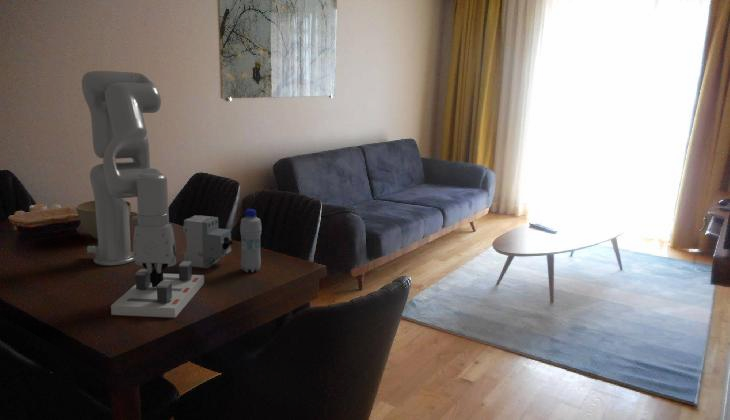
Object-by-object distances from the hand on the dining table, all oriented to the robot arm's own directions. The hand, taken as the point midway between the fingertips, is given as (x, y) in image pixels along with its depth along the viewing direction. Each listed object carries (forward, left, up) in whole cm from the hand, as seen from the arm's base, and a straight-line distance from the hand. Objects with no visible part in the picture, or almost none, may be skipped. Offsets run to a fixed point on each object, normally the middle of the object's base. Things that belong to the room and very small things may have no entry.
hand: (157, 285), depth 144 cm
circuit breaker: (+6, +29, -4) cm, 30 cm away
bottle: (+20, +25, -4) cm, 32 cm away
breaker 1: (+5, -8, -1) cm, 9 cm away
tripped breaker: (-4, 0, -1) cm, 4 cm away
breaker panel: (+1, 0, -4) cm, 4 cm away
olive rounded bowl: (-40, +54, -4) cm, 67 cm away
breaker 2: (+5, +8, -1) cm, 10 cm away
